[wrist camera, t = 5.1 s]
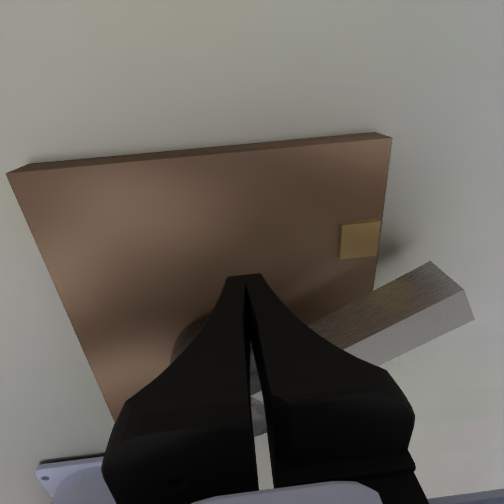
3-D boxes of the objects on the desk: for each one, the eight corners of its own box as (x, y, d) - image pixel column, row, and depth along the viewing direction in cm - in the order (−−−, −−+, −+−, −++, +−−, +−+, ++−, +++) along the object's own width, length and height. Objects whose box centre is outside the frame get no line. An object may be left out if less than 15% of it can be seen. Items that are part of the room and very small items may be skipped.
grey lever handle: (217, 415, 18) (216, 477, 15) (144, 351, 15) (127, 412, 12) (439, 305, 15) (487, 354, 13) (397, 207, 13) (446, 242, 10)
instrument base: (348, 393, 21) (369, 444, 18) (130, 419, 20) (115, 477, 17) (375, 132, 13) (418, 146, 10) (28, 164, 13) (-30, 188, 10)
